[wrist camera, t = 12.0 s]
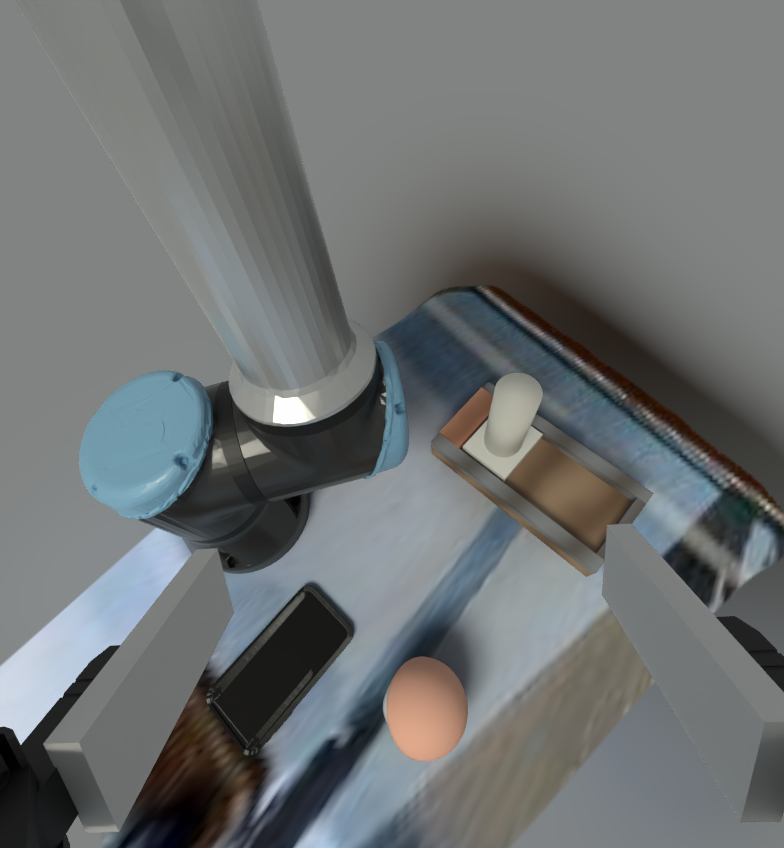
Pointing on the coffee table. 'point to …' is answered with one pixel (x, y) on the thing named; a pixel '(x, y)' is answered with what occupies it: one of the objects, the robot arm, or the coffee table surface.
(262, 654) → the phone
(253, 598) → the coffee table surface
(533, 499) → the track
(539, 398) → the disc
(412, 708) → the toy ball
